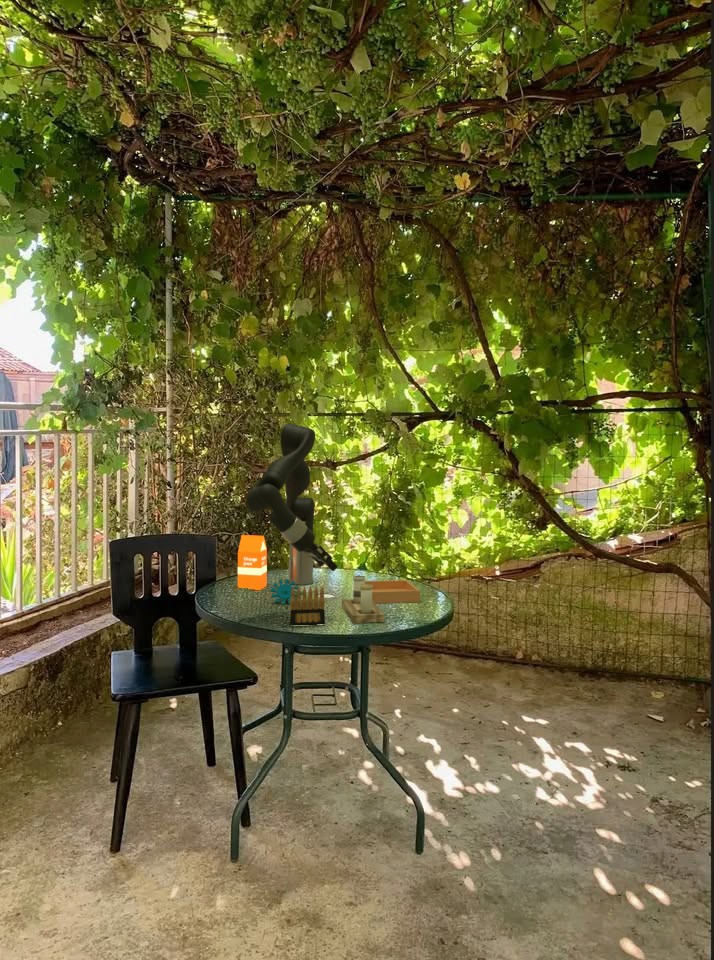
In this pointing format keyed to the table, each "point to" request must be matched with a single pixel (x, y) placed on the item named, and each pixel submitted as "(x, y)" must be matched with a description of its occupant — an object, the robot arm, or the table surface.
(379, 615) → the fuse block
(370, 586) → the fuse
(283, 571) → the table surface
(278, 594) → the gear
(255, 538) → the orange juice
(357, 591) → the white domed cylinder
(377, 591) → the parts tray
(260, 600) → the table surface
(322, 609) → the ammunition clip
